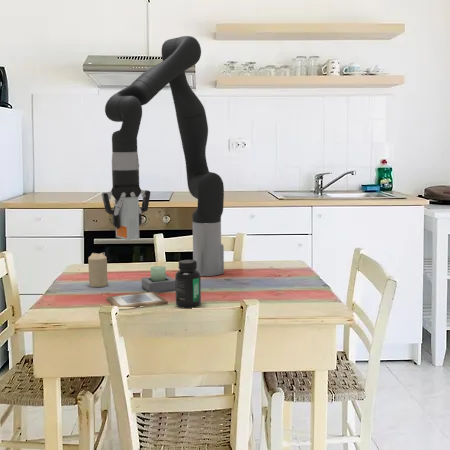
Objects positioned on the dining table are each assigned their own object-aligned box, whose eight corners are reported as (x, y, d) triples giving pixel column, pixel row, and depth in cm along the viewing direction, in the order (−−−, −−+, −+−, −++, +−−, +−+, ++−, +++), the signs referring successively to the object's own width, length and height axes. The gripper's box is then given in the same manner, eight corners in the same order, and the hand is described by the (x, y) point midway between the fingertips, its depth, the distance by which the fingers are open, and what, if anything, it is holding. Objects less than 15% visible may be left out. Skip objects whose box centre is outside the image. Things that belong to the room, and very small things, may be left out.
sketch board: (154, 294, 193) (154, 290, 193) (167, 304, 182) (167, 300, 182) (106, 299, 187) (106, 296, 187) (117, 310, 177) (117, 306, 176)
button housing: (167, 284, 204) (166, 275, 204) (175, 290, 197) (175, 280, 196) (141, 287, 201) (141, 277, 200) (149, 293, 194) (149, 283, 193)
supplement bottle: (203, 307, 179) (202, 263, 177) (177, 309, 177) (176, 264, 176) (198, 300, 185) (198, 258, 184) (174, 302, 184) (173, 259, 182)
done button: (163, 279, 201) (162, 265, 201) (167, 283, 197) (167, 268, 197) (149, 281, 200) (148, 267, 199) (153, 284, 196) (153, 269, 195)
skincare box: (115, 237, 192) (114, 196, 191) (127, 236, 195) (126, 195, 194) (127, 240, 188) (126, 197, 186) (140, 238, 191) (139, 196, 189)
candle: (108, 282, 207) (107, 251, 206) (106, 287, 202) (105, 254, 200) (90, 283, 207) (89, 251, 206) (87, 287, 202) (86, 254, 200)
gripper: (146, 166, 195) (147, 224, 197) (97, 168, 189) (99, 227, 192) (153, 168, 188) (155, 227, 191) (103, 169, 182) (105, 231, 185)
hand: (127, 227), depth 191 cm, fingers closed on skincare box, 5 cm apart
